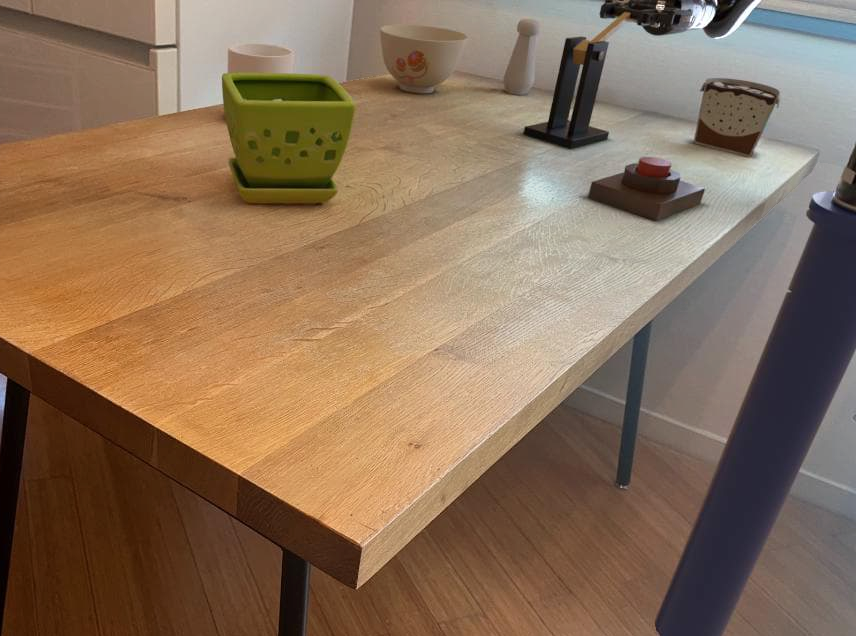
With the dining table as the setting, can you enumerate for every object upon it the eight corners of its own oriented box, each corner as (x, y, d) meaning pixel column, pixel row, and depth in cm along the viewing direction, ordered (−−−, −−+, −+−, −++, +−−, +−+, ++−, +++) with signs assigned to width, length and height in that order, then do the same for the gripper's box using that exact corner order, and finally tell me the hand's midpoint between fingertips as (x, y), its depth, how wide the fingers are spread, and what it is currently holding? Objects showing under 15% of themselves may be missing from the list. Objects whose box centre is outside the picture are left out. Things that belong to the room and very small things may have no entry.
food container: (771, 152, 142) (794, 89, 137) (759, 159, 138) (782, 94, 132) (698, 135, 148) (716, 74, 143) (684, 140, 144) (703, 78, 139)
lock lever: (615, 15, 140) (615, 1, 138) (648, 22, 137) (649, 7, 135) (562, 60, 136) (562, 46, 134) (596, 68, 132) (596, 53, 130)
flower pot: (218, 173, 111) (220, 70, 105) (323, 174, 114) (331, 74, 108) (232, 211, 100) (234, 98, 93) (348, 211, 103) (359, 101, 96)
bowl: (357, 86, 161) (362, 28, 156) (406, 76, 172) (412, 22, 166) (428, 104, 153) (436, 44, 147) (475, 93, 163) (484, 36, 158)
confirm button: (645, 167, 115) (649, 154, 115) (673, 176, 113) (677, 163, 112) (630, 172, 113) (634, 159, 112) (658, 181, 111) (662, 167, 110)
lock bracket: (560, 126, 146) (581, 32, 139) (607, 139, 141) (631, 43, 133) (522, 134, 140) (542, 36, 132) (570, 149, 134) (593, 48, 127)
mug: (262, 131, 130) (265, 59, 124) (213, 117, 134) (214, 47, 129) (313, 119, 138) (318, 50, 133) (265, 105, 143) (268, 39, 138)
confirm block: (633, 183, 122) (641, 154, 119) (700, 204, 116) (709, 174, 114) (587, 197, 114) (594, 167, 112) (656, 221, 108) (665, 190, 106)
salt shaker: (529, 97, 163) (543, 23, 156) (499, 93, 165) (512, 19, 158) (533, 91, 168) (548, 19, 161) (504, 87, 170) (517, 15, 163)
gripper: (640, -21, 148) (587, -19, 138) (720, -8, 140) (670, -5, 130) (628, 26, 152) (576, 32, 142) (706, 41, 144) (656, 48, 134)
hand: (621, 14), depth 136 cm, fingers closed on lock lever, 6 cm apart
